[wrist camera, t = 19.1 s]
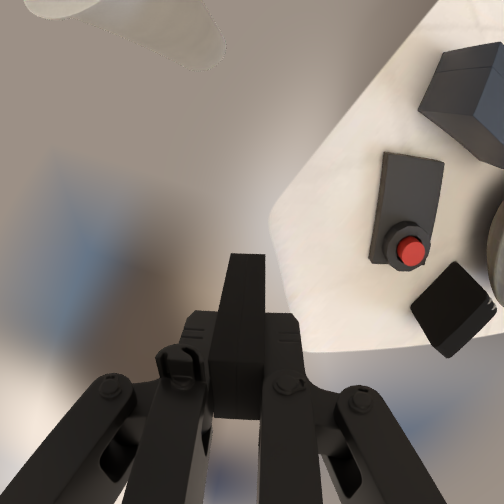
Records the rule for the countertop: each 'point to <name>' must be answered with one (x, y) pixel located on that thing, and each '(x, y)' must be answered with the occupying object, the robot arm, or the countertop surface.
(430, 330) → the electronic device
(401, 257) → the red button
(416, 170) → the push button box
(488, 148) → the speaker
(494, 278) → the bowl
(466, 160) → the countertop surface
